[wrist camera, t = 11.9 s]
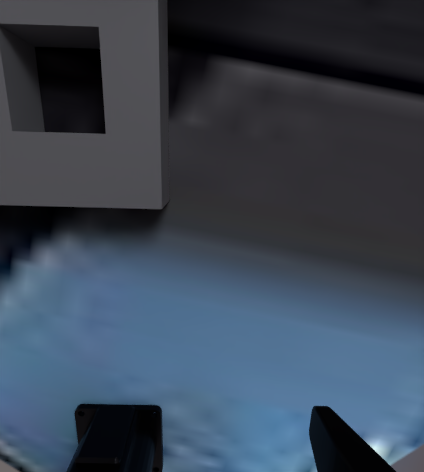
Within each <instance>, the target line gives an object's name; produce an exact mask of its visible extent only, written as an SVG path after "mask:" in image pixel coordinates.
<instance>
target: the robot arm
mask: <svg viewBox="0 0 424 472" xmlns="http://www.w3.org/2000/svg"><path fill="white" fill-rule="evenodd" d="M82 411H83V412H82ZM154 412H155V413H154ZM75 420H76V428H77V437H78V447H77V450H76V452H75V454H74V456H73V458H72V461H71V463H70V465H69V467H68V469H67V472H162V469H163V438H162V409H161V408H160V407H159V406H156V405H105V404H80V405H79V406H78V407H77V409H76V411H75ZM309 436H310V441H311V446H312V450H313V454H314V459H315V463H316V467H317V472H396V471H395V470H394V469H393V468H392V467H391V466H390V465H389V464H388V463H387V462H386V461H385V460H384V459H383V458H382V457H381V456H380V455H379V454H377V453H376V452H375V451H374V450H373V449H372V448H371V447H370V446H369V445H368V444H367V443H366V442H365V441H364V440H363V439H362V438H361V437H360V436H359V435H358V434H357V433H356V432H355V431H354V430H353V429H352V428H351V427H350V426H349V425H348V424H347V423H346V422H344V421H343V420H342V419H341V418H340V417H339V416H338V415H337V414H336V413H335V412H334V411H333V410H332V409H331V408H330V407H328V406H314V407H313V409H312V414H311V420H310V427H309Z"/></svg>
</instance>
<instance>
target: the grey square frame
mask: <svg viewBox="0 0 424 472" xmlns="http://www.w3.org/2000/svg"><path fill="white" fill-rule="evenodd" d="M35 47H61V48H92V49H100V53H101V68H102V83H103V98H104V114H105V129H106V134H89V133H55V132H45V129H44V121H43V112H42V104H41V95H40V87H39V78H38V70H37V62H36V53H35ZM169 201H170V197H169V111H168V25H167V0H0V205H19V206H57V207H95V208H134V209H163V207H164V206H165V205H166V204H167V203H168V202H169Z"/></svg>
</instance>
